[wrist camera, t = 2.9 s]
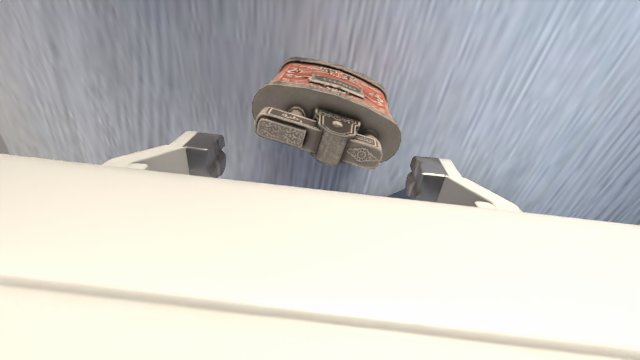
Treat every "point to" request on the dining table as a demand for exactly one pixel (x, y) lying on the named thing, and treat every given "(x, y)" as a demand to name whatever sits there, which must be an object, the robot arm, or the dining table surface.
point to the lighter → (327, 113)
